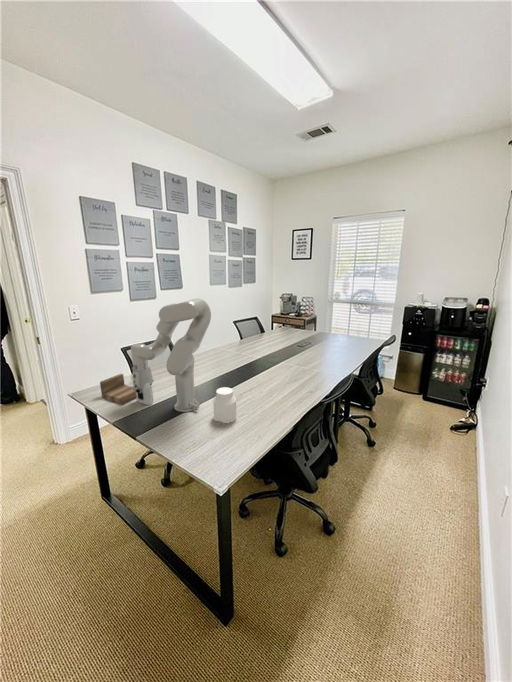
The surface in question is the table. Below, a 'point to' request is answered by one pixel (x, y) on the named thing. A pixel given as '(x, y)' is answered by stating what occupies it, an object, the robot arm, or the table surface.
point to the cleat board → (117, 390)
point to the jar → (224, 405)
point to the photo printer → (146, 395)
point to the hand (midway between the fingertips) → (144, 396)
